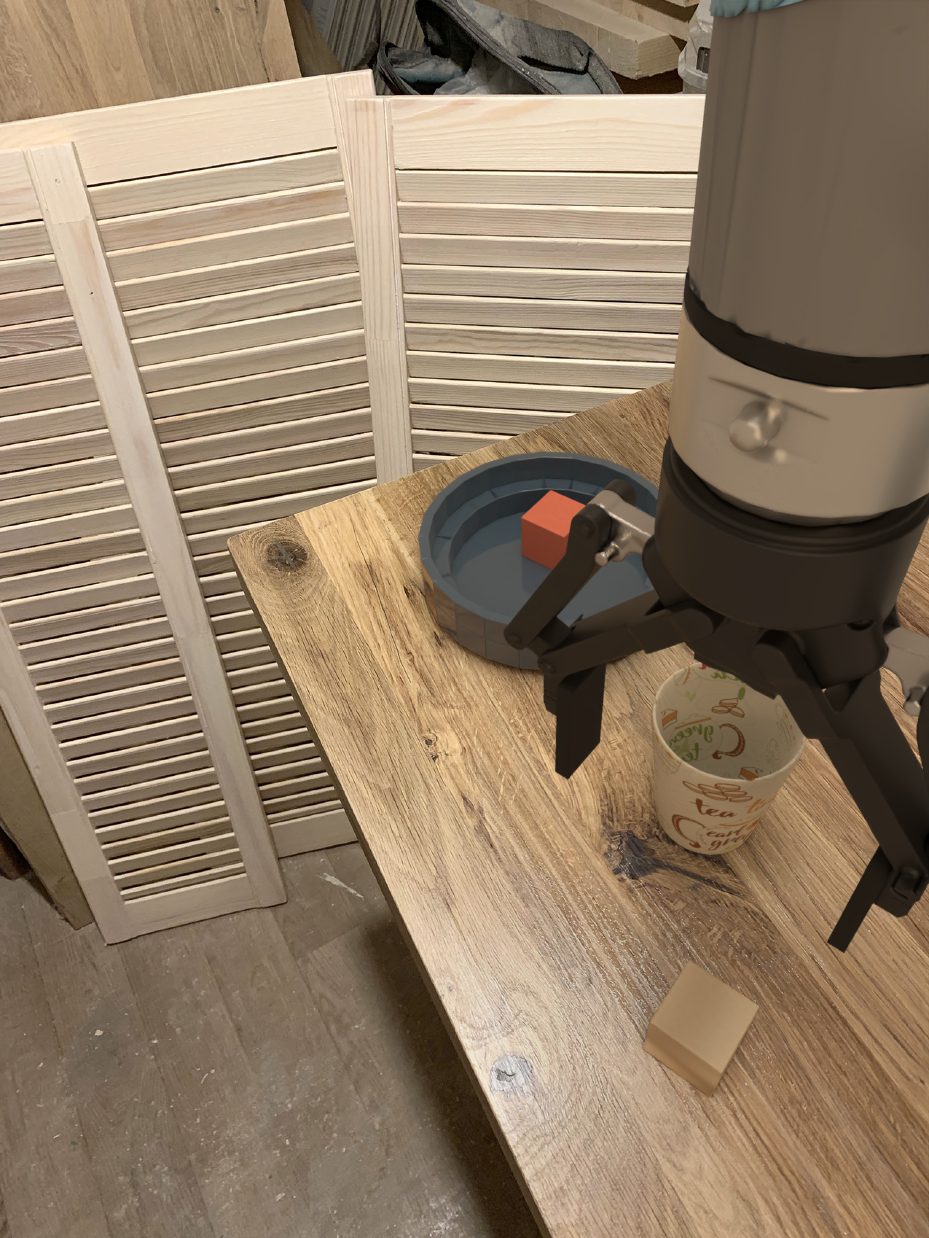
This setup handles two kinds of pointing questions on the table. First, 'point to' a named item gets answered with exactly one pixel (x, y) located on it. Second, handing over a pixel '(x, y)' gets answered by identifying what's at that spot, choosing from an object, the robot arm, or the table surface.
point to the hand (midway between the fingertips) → (703, 834)
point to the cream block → (699, 1027)
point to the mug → (718, 757)
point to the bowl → (515, 547)
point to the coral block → (548, 528)
